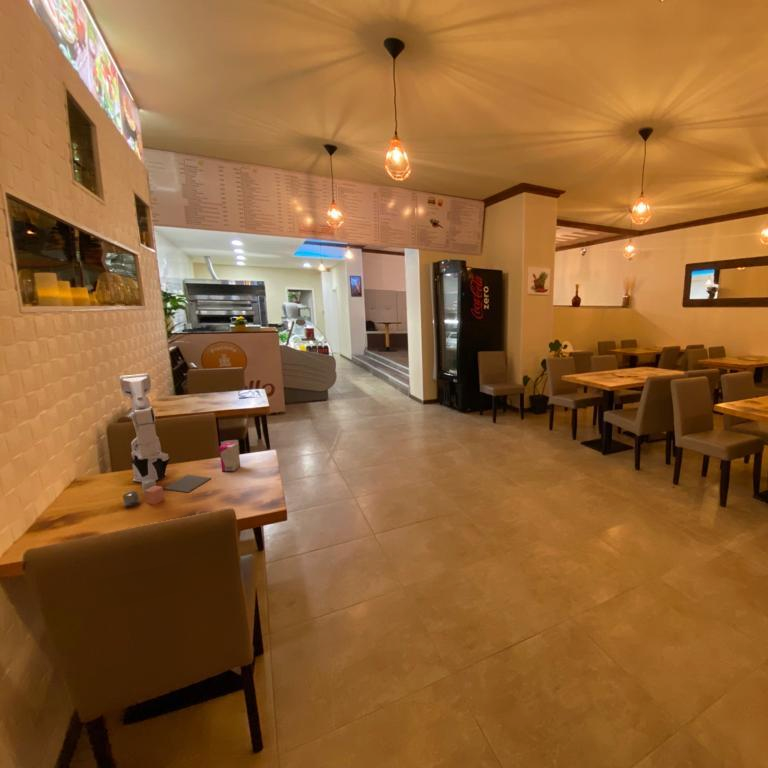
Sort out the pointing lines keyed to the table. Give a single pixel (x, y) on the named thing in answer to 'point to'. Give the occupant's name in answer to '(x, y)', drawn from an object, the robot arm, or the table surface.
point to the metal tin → (131, 499)
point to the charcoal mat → (187, 483)
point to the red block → (154, 495)
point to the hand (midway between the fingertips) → (153, 477)
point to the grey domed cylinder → (148, 484)
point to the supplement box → (229, 457)
